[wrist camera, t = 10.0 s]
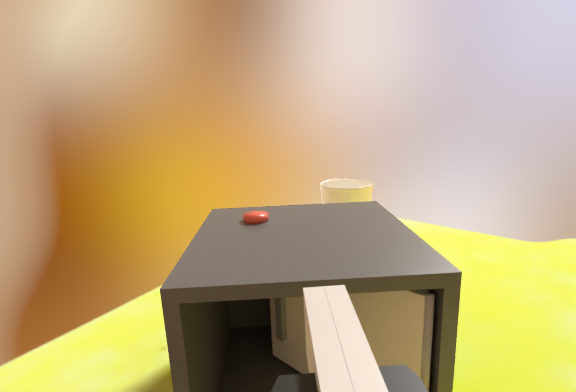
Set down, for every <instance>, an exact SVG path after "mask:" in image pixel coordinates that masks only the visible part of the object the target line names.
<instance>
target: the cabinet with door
mask: <svg viewBox="0 0 576 392" xmlns="http://www.w3.org/2000/svg"><path fill="white" fill-rule="evenodd" d="M461 274H462V272H461V271H460V270H458V269H457V268H456V267H455V266H454V265H452V264H451V263H450V262H449V261H448V260H446V259H445V258H444V257H443V256H442V255H440V254H439V253H438V252H437V251H436V250H434V249H433V248H432V247H431V246H429V245H428V244H427V243H426V242H425V241H423V240H422V239H421V238H420V237H419V236H417V235H416V234H415V233H414V232H413V231H411V230H410V229H409V228H408V227H407V226H405V225H404V224H403V223H402V222H401V221H399V220H398V219H397V218H396V217H395V216H393V215H392V214H391V213H390V212H388V211H387V210H386V209H385V208H384V207H382V206H381V205H380V204H379V203H378V202H376V201H366V202H346V203H326V204H306V205H287V206H266V207H247V208H226V209H212V211H211V212H210V214H209V215H208V217H207V218H206V220H205V221H204V223H203V224H202V226H201V228H200V229H199V231H198V232H197V234H196V235H195V237H194V238H193V240H192V241H191V243H190V244H189V246H188V247H187V249H186V250H185V252H184V254H183V255H182V257H181V258H180V260H179V261H178V262H177V264H176V266H175V267H174V269H173V270H172V272H171V273H170V275H169V276H168V278H167V279H166V281H165V282H164V284H163V285H162V287H161V288H160V293H161V300H162V308H163V315H164V323H165V330H166V337H167V345H168V352H169V359H170V367H171V374H172V382H173V389H174V392H271V390H272V388H273V386H274V384H275V382H276V380H277V378H278V376H279V375H292V374H302V373H300V372H299V371H297V370H296V369H294V368H293V367H291V366H290V365H288V364H286V363H285V362H283V361H282V360H280V359H279V358H277V357H276V356H274V355H273V349H272V332H271V314H270V298H285V297H302V296H303V288H307V287H321V286H335V285H345V287H346V290H347V292H348V294H354V293H371V292H388V291H405V290H423V289H424V290H427V291H430V292H431V293H433V294H434V295H435V297H434V314H433V331H432V347H431V364H430V381H429V392H452V389H453V376H454V364H455V351H456V338H457V325H458V312H459V299H460V286H461Z"/></svg>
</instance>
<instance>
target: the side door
mask: <svg viewBox="0 0 576 392" xmlns="http://www.w3.org/2000/svg"><path fill="white" fill-rule="evenodd" d="M348 295H349V297H350V300H351V302H352V304H353V307H354V309H355V312H356V314H357V317H358V319H359V321H360V324H361V326H362V329H363V331H364V334H365V336H366V338H367V341H368V343H369V346H370V348H371V351H372V353H373V355H374V358H375V360H376V363H377V365H378V366H391V365H404V364H405V365H407V366H408V367H409V368H410V369H411V370H412V371H413V372H415V373H416V374H417V375H418V376H419V377H420V378H421V380H422V382H423V383H424V385H425V387H426V389H427V391H428V392H429V381H430V364H431V347H432V331H433V314H434V297H435V295H434V294H433V293H431V292H430V291H427V290H424V289H423V290H405V291H388V292H371V293H354V294H348ZM270 314H271V332H272V349H273V355H274V356H276V357H277V358H279V359H280V360H282V361H283V362H285V363H286V364H288V365H290V366H291V367H293V368H294V369H296V370H297V371H299V372H300V373H302V374H305V373H309V369H308V361H307V354H306V336H305V316H304V296H302V297H285V298H270Z"/></svg>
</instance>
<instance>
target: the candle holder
mask: <svg viewBox="0 0 576 392" xmlns="http://www.w3.org/2000/svg"><path fill="white" fill-rule="evenodd" d="M320 189H321V201H322V204H326V203H346V202H366V201H372V190H373V182H372V181H369V180H365V179H356V178H339V179H330V180H325V181H323V182H321V183H320Z"/></svg>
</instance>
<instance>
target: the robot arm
mask: <svg viewBox="0 0 576 392" xmlns="http://www.w3.org/2000/svg"><path fill="white" fill-rule="evenodd" d="M303 296H304V316H305V336H306V354H307V361H308V369H309V373H305V374H292V375H279V376H278V378H277V380H276V382H275V384H274V386H273V388H272V390H271V392H428V391H427V389H426V387H425V385H424V383H423V382H422V380H421V378H420V377H419V376H418V375H417V374H416V373H415V372H413V371H412V370H411V369H410V368H409V367H408V366H407V365H405V364H404V365H391V366H378V365H377V363H376V360H375V358H374V355H373V353H372V351H371V348H370V346H369V343H368V341H367V338H366V336H365V334H364V331H363V329H362V326H361V324H360V321H359V319H358V317H357V314H356V312H355V309H354V307H353V304H352V302H351V300H350V297H349V295H348V292H347V290H346V287H345V285H335V286H321V287H307V288H303Z"/></svg>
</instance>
